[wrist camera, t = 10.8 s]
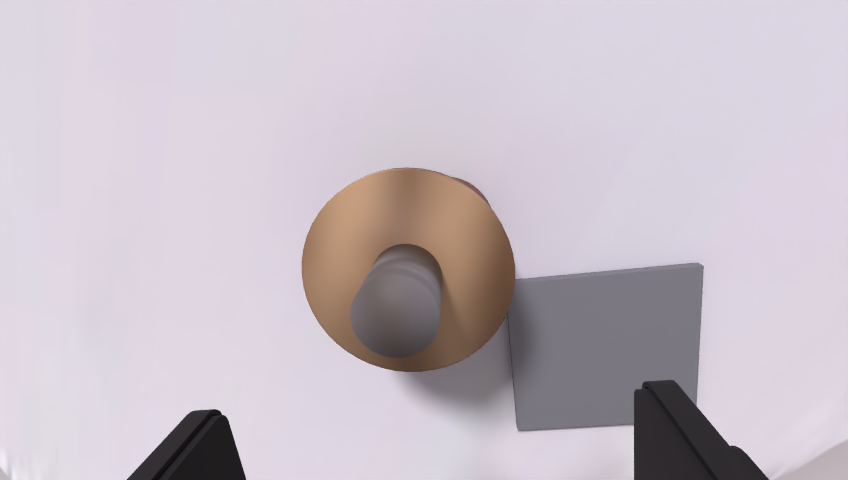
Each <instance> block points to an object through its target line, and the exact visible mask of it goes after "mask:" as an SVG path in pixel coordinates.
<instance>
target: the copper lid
mask: <svg viewBox="0 0 848 480" xmlns="http://www.w3.org/2000/svg"><path fill="white" fill-rule="evenodd" d="M302 279H303V286H304V290H305V294H306V297H307V301H308V303H309V305H310V307H311V310H312V312H313V314H314V315H315V317H316V319H317V321H318V322H319V324H320V325H321V326H322V328H323V329H324V330H325V332H326V333H327V334H328V335H329V336H330V337H331V338H332V339H333V340H334V341H335V342H336V343H337V344H338V345H340V346H341V347H342V348H343V349H345V350H346V351H347V352H349V353H350V354H352V355H354V356H355V357H357V358H359V359H361V360H363V361H365V362H367V363H369V364H372V365H375V366H378V367H381V368H385V369H390V370H394V371H404V372H422V371H429V370H435V369H439V368H443V367H447V366H449V365H452V364H454V363H457V362H459V361H461V360H463V359H465V358H466V357H468V356H470V355H471V354H473V353H474V352H476V351H477V350H478V349H480V348H481V347H482V346H483V345H484V344H485V343H486V342H487V341H488V340H489V339H490V338H491V337H492V336H493V335H494V333H495V332H496V331H497V330H498V328H499V327H500V325H501V323H502V322H503V320H504V318H505V316H506V314H507V312H508V309H509V307H510V304H511V300H512V297H513V292H514V285H515V264H514V257H513V252H512V249H511V245H510V242H509V239H508V237H507V235H506V233H505V230H504V228H503V226H502V224H501V222H500V221H499V219H498V217H497V216H496V214H495V213H494V211H493V210H492V209H491V207H490V206H489V205H488V204H487V203H486V201H485V200H484V199H482V198H481V197H480V196H479V195H478V194H477V193H476V192H475V191H474V190H472V189H471V188H469V187H468V186H466V185H465V184H463V183H462V182H460V181H458V180H456V179H454V178H452V177H450V176H447V175H444V174H441V173H439V172H435V171H431V170H426V169H419V168H394V169H389V170H383V171H379V172H376V173H373V174H370V175H367V176H365V177H363V178H361V179H359V180H357V181H355V182H353V183H352V184H350V185H348V186H347V187H346V188H344V189H343V190H341V191H340V192H338V193H337V194H336V195H335V196H334V197H333V198H332V199H331V200H329V201H328V202H327V204H326V205H325V206H324V207H323V208H322V210H321V211H320V212H319V214H318V215H317V217H316V219H315V220H314V222H313V223H312V225H311V228H310V230H309V232H308V235H307V238H306V241H305V245H304V249H303V256H302Z"/></svg>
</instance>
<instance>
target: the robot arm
mask: <svg viewBox="0 0 848 480" xmlns="http://www.w3.org/2000/svg"><path fill="white" fill-rule="evenodd" d="M127 480H246V477H245V474H244V471H243V467H242V464H241V461H240V458H239V454H238V451H237V448H236V444H235V441H234V438H233V435H232V431H231V428H230V425H229V421H228V419H227V417H226V416H224V415H222V414H221V412H220V411H219V410H216V409H213V410H197V411H192V412H190V413H189V414H188V415H187V416H186V417H185V418H184V419H183V420H182V421H181V422H180V423H179V424H178V425H177V426H176V427H175V429H174V430H173V431H172V432H171V433H170V434H169V435H168V436H167V437H166V438H165V439H164V440H163V441H162V443H161V444H160V445H159V446H158V447H157V448H156V449H155V450H154V451H153V452H152V453H151V454H150V455H149V456H148V458H147V459H146V460H145V461H144V462H143V463H142V464H141V465H140V466H139V467H138V468H137V469H136V470H135V471H134V473H133V474H132V475H131V476H130V477H129V478H128V479H127ZM634 480H769V479H768V478H767V477H766V476H765V475H764V473H763V472H762V471H761V470H760V469H759V468H758V467H757V465H756V464H755V463H754V462H753V461H752V460H751V458H750V457H749V456H748V455H747V454H746V453H745V452H744V451H743V450H742V449H740V448H738V447H736V446H729V445H728V444H727V442H726V441H725V440H724V439H723V438H722V436H721V435H720V434H719V433H718V432H717V430H716V429H715V428H714V427H713V426H712V424H711V423H710V422H709V421H708V420H707V418H706V417H705V416H704V415H703V414H702V412H701V411H700V410H699V409H698V408H697V406H696V405H695V404H694V403H693V402H692V400H691V399H690V398H689V397H688V396H687V394H686V393H685V392H684V391H683V390H682V388H681V387H680V386H679V385H678V384H677V383H676V382H675V381H674V380H659V381H645V382H643V384H642V389H636V390H635V391H634Z"/></svg>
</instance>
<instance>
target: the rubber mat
mask: <svg viewBox="0 0 848 480" xmlns="http://www.w3.org/2000/svg"><path fill="white" fill-rule="evenodd" d="M703 269H704V266H703V265H701V264H699V263H689V264H678V265H667V266H657V267H646V268H635V269H624V270H614V271H603V272H592V273H581V274H571V275H560V276H549V277H538V278H528V279H517V280H515V285H514V292H513V297H512V300H511V304H510V307H509V309H508V324H509V337H510V349H511V361H512V374H513V386H514V398H515V411H516V423H517V429H518V430H536V429H553V428H570V427H588V426H605V425H622V424H634V391H635V390H636V389H642V384H643V382H645V381H659V380H674V381H675V382H676V383H677V384H678V385H679V386H680V387H681V388H682V390H683V391H684V392H685V393H686V394H687V396H688V397H689V398H690V399H691V400H692V402H693V403H694V404H695V405H696V403H697V384H698V365H699V346H700V326H701V307H702V288H703Z"/></svg>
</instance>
